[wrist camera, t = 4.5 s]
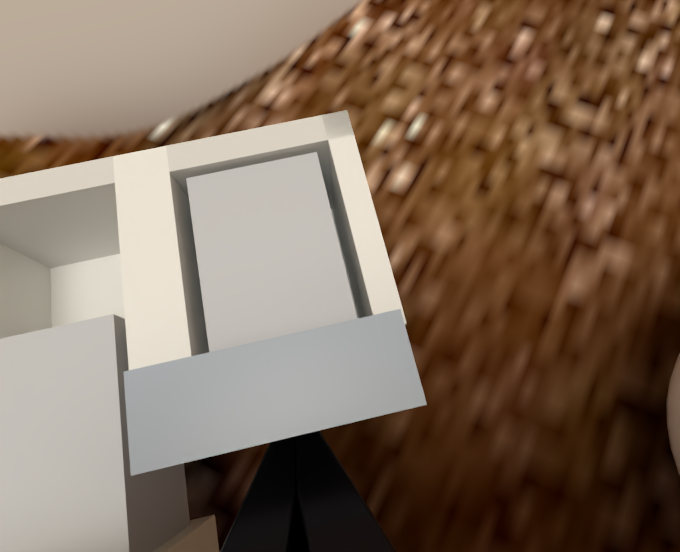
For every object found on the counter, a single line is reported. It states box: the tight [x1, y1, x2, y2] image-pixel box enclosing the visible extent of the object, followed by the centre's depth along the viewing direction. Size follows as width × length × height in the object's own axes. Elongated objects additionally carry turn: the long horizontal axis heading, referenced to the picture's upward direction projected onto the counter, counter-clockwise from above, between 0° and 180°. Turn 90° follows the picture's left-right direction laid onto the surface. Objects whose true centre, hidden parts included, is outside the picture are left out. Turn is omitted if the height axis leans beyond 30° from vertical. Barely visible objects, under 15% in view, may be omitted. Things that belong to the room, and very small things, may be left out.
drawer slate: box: [123, 152, 427, 476], centre depth 11 cm, size 7×4×8 cm, turn 13°
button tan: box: [0, 314, 219, 552], centre depth 10 cm, size 7×4×8 cm, turn 13°
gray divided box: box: [0, 110, 406, 370], centre depth 13 cm, size 6×17×6 cm, turn 103°
